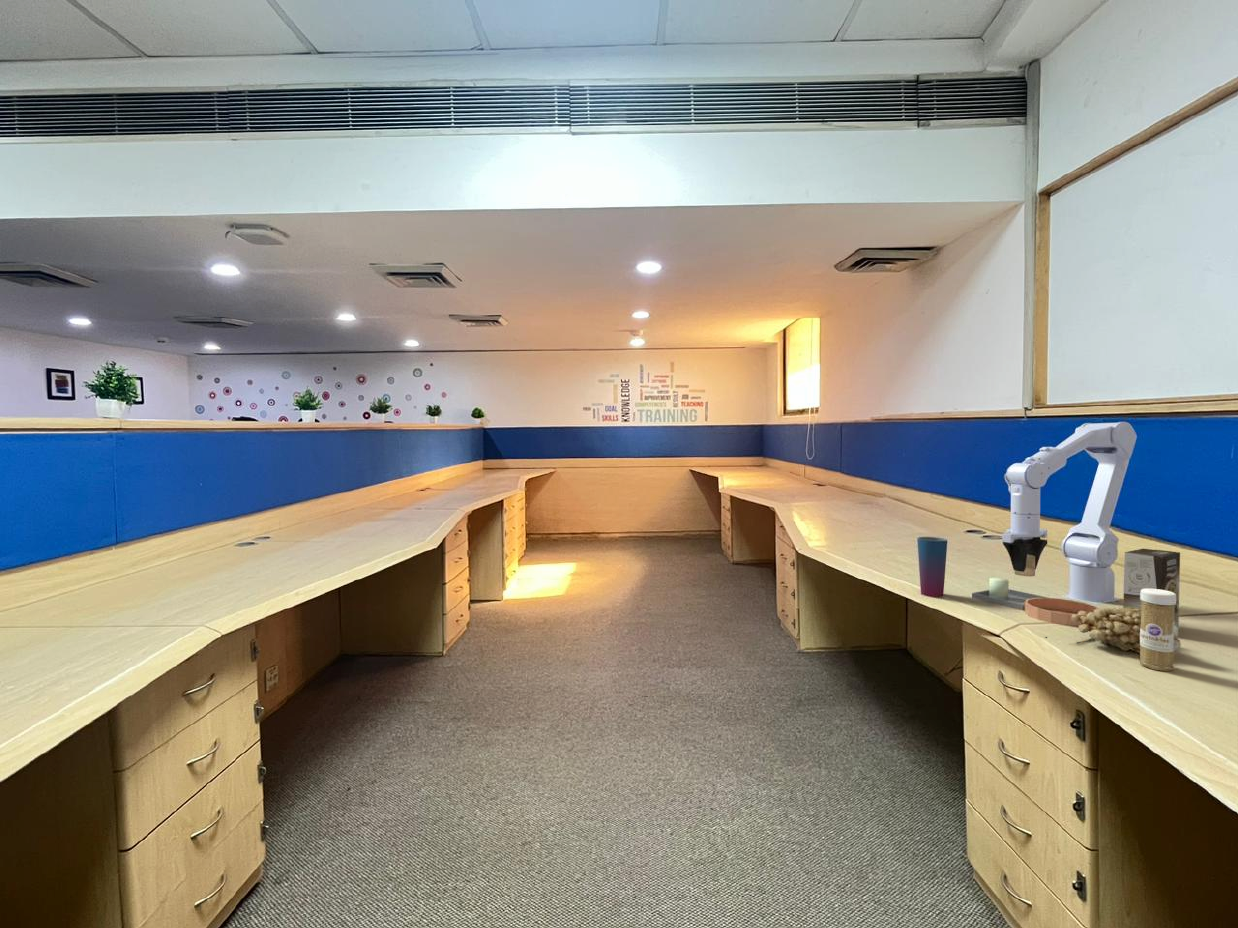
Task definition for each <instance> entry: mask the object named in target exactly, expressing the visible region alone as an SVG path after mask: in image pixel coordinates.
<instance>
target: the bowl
mask: <svg viewBox="0 0 1238 928" xmlns="http://www.w3.org/2000/svg"><path fill="white" fill-rule="evenodd" d="M1095 609H1100V608H1098V607H1097V606H1095V605H1092V604H1089V603H1087V602H1081V601H1078V600H1073V599H1072V600H1070V599H1065V598H1054V597H1052V598H1051V597H1048V598H1031V599H1027V600H1026V601H1025V610H1024V614H1025V615H1027V616H1028V617H1030V618H1033V619H1034V620H1038V621H1042V622H1046V623H1049V624H1056V625H1060V626H1061V625H1062V626H1070V627H1079V625H1083V624H1082V623H1081V622H1080V621H1079V622H1074V621H1073V620H1071V616H1072V615H1074V614H1078V612H1079V611H1085V612H1088V613H1089V612H1094V610H1095Z"/></svg>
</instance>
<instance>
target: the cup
mask: <svg viewBox="0 0 1238 928" xmlns="http://www.w3.org/2000/svg"><path fill="white" fill-rule="evenodd" d="M916 540H917V542H916V543H917V553H918V557H917V558H918V569H919V586H920V594H921V595H922V596H924V597H930V598H942V597H944V593H945V579H946V568H947V567H946V566H947V565H946V563H947V551H948V539H947V538H944V537H939V536H918V537H917V538H916Z"/></svg>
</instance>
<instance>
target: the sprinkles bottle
mask: <svg viewBox="0 0 1238 928" xmlns="http://www.w3.org/2000/svg"><path fill="white" fill-rule="evenodd" d="M1140 599H1141V602H1142V607H1141V608H1142V609H1141V628H1140V653H1139V656H1140V657H1139V660H1138V662H1139V664H1140V665H1142V666H1144V667H1145V668H1148V669H1151V670H1156V671H1163V672H1170V671H1173V670H1175V667H1174V652H1175V651H1174V631H1175V621H1174V612H1175V604H1176V594H1175V593H1173V592H1170V591H1166V590H1160V589H1149V588H1146V589H1142V590H1141V593H1140Z"/></svg>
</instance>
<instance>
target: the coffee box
mask: <svg viewBox="0 0 1238 928" xmlns="http://www.w3.org/2000/svg"><path fill="white" fill-rule="evenodd" d="M1180 566H1181V552H1179V551H1172V550H1160V549H1150V548H1140V549H1134V550H1129V551H1125V552H1124V565H1123V567H1124V569H1123V600H1122V601H1123V603H1122V604H1123V605H1122V608H1130V609H1139V610H1140V611H1141V609H1142V608H1141V607H1142V602H1141V599H1140V593H1141V590H1142V589H1146V588H1149V589H1160V590H1166V591H1170V592H1173V593H1175V594H1176V604H1175V612H1174V621H1175V626H1176V627H1178V628H1179V625H1180V624H1179V623H1180V621H1179V619H1180V579H1181V578H1180V576H1181V575H1180V574H1181V570H1180V569H1181V567H1180Z"/></svg>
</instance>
